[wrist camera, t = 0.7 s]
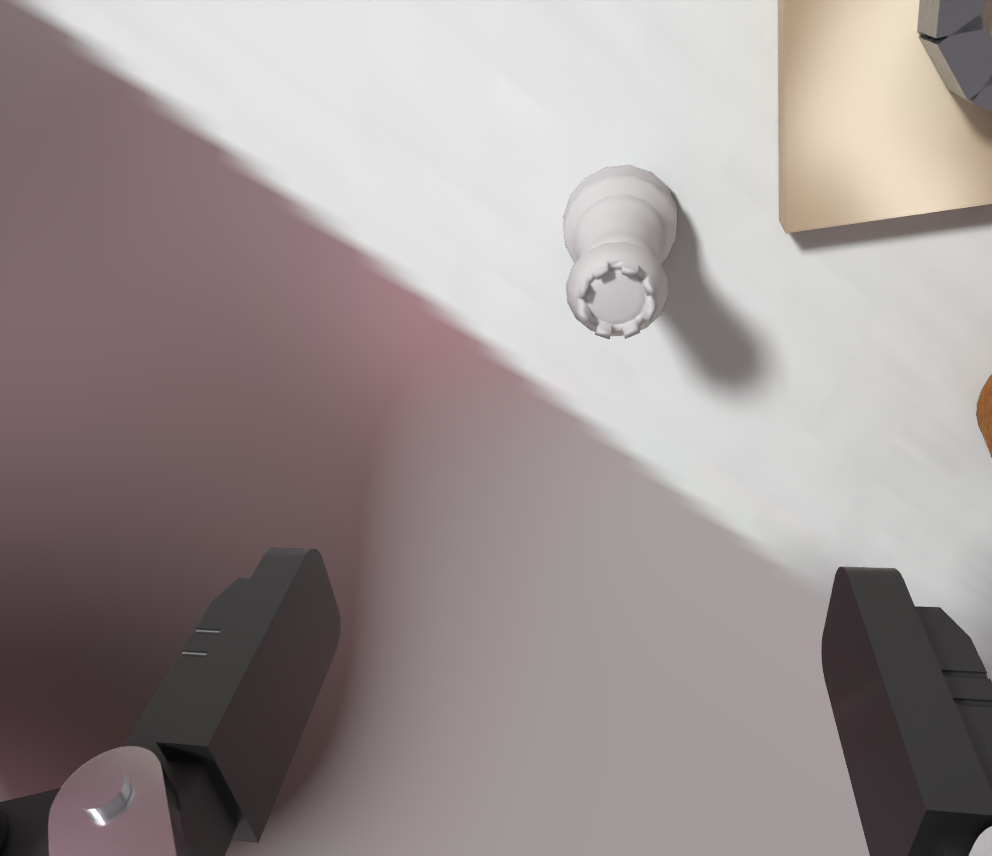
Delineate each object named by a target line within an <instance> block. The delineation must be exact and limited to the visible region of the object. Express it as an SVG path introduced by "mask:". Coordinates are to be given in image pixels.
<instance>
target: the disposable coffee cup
mask: <svg viewBox="0 0 992 856" xmlns="http://www.w3.org/2000/svg"><path fill="white" fill-rule="evenodd" d="M976 416H977V421H978V426H979V428H980V430H981V432H982V434H983V437H984V439H985V441H986V444H987V446H988V448H989V451H990V454H991V457H992V375H991V376H990V377H989V379H988V381H987V382H986V384H985V385H984V387H983V389H982V391H981V394H980V396H979V399H978V402H977V413H976Z"/></svg>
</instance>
